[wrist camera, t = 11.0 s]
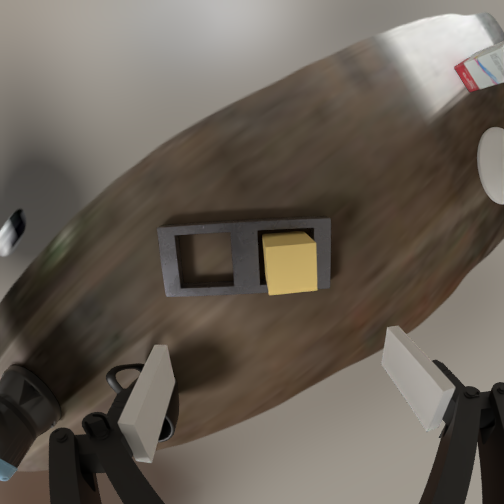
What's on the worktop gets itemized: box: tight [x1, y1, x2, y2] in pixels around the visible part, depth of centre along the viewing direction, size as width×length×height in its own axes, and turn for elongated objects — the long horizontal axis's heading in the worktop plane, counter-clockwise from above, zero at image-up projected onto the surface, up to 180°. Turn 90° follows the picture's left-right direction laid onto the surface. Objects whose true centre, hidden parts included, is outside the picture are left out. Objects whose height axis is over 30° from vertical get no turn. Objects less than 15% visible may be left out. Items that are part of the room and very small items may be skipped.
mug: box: [106, 363, 179, 442], centre depth 36 cm, size 8×12×10 cm
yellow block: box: [262, 231, 317, 295], centre depth 33 cm, size 5×5×7 cm
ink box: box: [454, 41, 504, 92], centre depth 24 cm, size 9×5×12 cm, turn 127°
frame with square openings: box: [157, 216, 331, 297], centre depth 35 cm, size 20×8×2 cm, turn 93°
